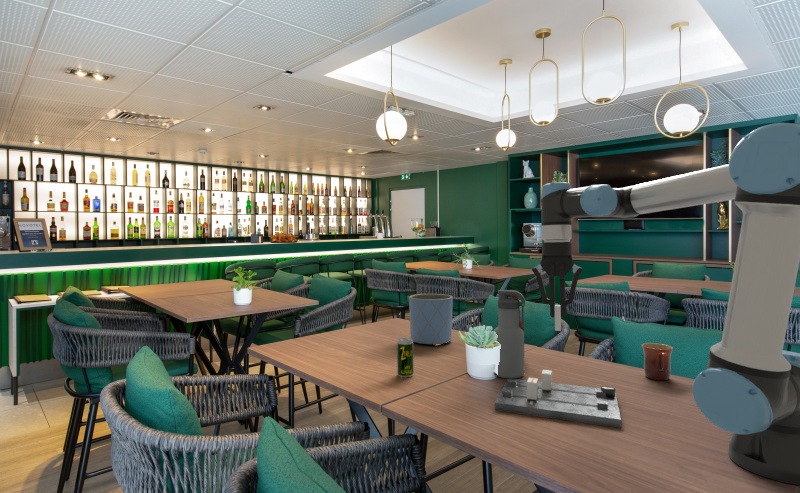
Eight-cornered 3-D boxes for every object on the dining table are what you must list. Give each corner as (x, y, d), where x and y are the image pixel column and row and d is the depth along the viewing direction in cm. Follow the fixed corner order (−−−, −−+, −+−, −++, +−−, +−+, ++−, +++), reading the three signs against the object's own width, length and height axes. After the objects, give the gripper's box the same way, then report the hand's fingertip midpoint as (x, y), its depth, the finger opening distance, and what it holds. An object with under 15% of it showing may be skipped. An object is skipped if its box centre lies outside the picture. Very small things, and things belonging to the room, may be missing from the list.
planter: (460, 340, 198) (459, 295, 197) (440, 349, 181) (440, 300, 181) (422, 335, 208) (422, 292, 207) (401, 343, 192) (400, 297, 191)
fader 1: (536, 399, 118) (536, 382, 118) (527, 398, 119) (526, 381, 119) (538, 394, 122) (538, 378, 122) (528, 393, 123) (528, 377, 123)
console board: (621, 427, 106) (621, 411, 106) (494, 410, 117) (494, 395, 117) (614, 396, 126) (614, 383, 126) (507, 384, 138) (507, 372, 138)
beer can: (395, 373, 149) (395, 338, 149) (410, 372, 151) (410, 337, 151) (400, 378, 144) (399, 342, 144) (415, 377, 146) (415, 340, 145)
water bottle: (525, 371, 151) (525, 289, 150) (525, 380, 141) (525, 292, 141) (494, 369, 153) (494, 288, 153) (492, 378, 144) (492, 292, 143)
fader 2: (551, 390, 125) (551, 374, 125) (541, 389, 126) (541, 373, 126) (551, 385, 129) (551, 370, 129) (542, 384, 130) (542, 369, 130)
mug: (637, 373, 148) (638, 342, 148) (666, 374, 146) (666, 343, 146) (650, 384, 136) (650, 351, 136) (682, 386, 134) (682, 352, 134)
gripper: (582, 240, 119) (584, 328, 119) (532, 241, 124) (533, 326, 124) (583, 240, 112) (584, 333, 112) (530, 241, 117) (531, 331, 117)
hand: (558, 329), depth 118 cm, fingers closed
